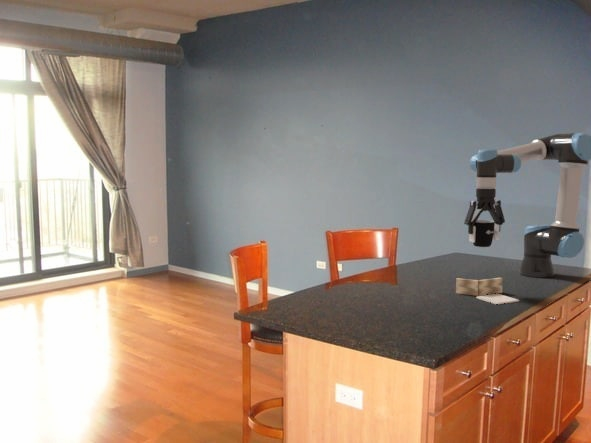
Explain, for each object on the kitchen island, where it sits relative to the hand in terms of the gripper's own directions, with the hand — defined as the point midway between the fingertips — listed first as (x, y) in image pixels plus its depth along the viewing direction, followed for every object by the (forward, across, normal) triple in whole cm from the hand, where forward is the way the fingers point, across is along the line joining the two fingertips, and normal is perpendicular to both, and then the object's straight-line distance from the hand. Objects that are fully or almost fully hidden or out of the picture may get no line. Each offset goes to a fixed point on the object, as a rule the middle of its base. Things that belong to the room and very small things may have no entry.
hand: (484, 241), depth 235 cm
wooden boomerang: (+20, +4, +3) cm, 21 cm away
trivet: (+20, +5, +15) cm, 26 cm away
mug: (+2, 0, 0) cm, 2 cm away
